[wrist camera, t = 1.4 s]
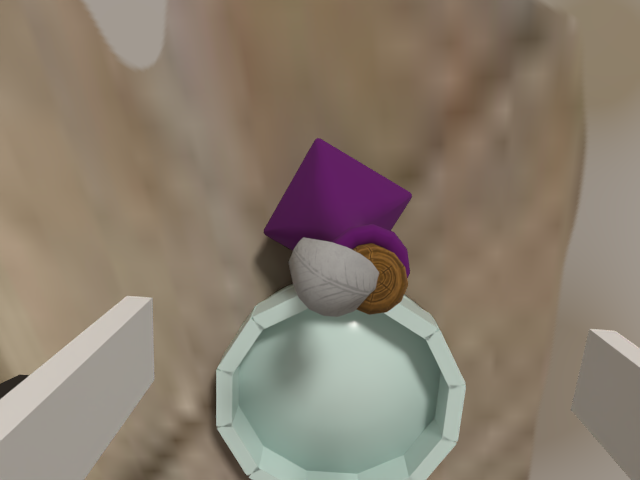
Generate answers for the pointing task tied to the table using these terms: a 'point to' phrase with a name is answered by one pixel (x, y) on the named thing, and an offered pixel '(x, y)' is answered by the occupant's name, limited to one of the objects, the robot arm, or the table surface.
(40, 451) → the robot arm
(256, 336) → the round tray
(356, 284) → the perfume bottle
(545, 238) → the table surface
